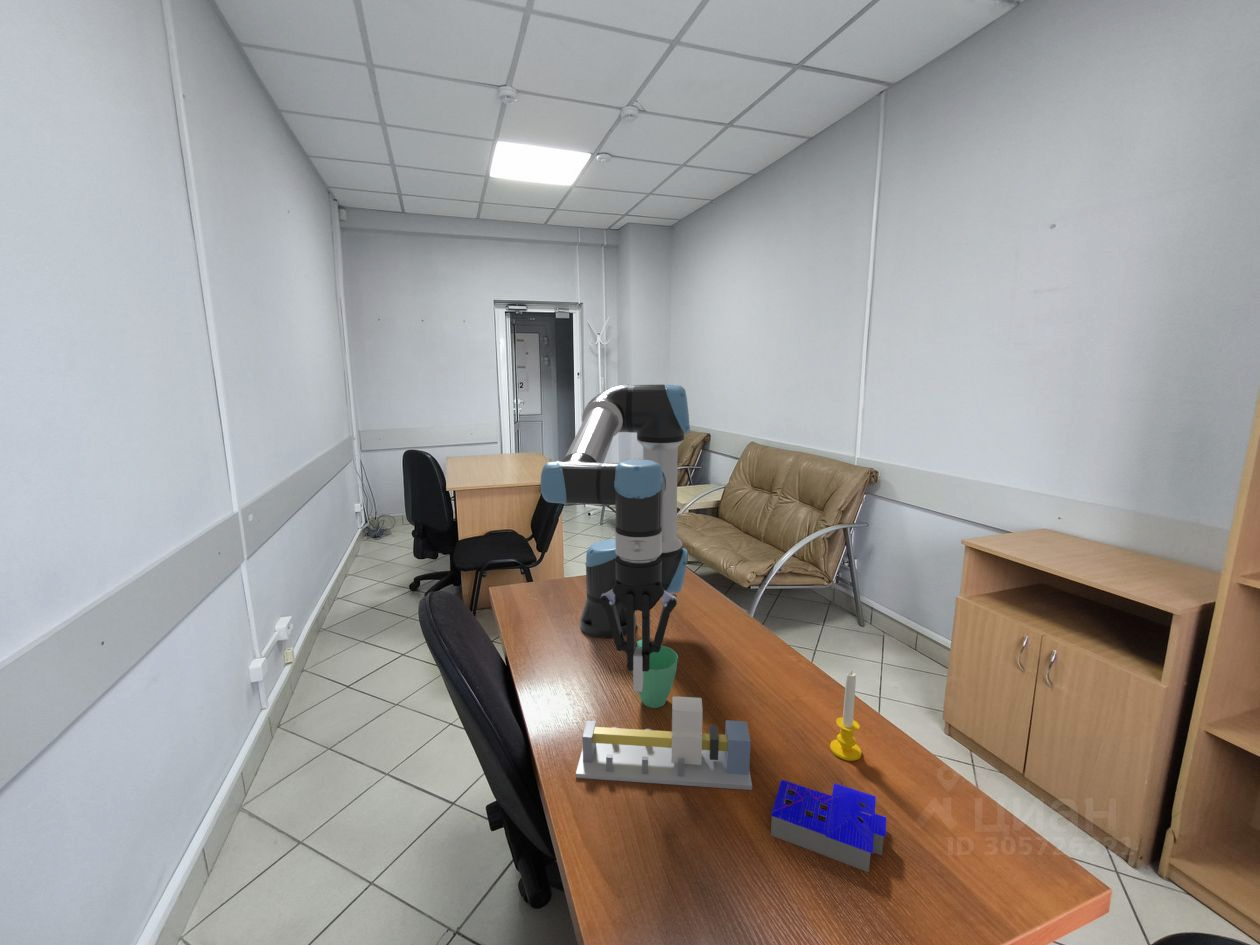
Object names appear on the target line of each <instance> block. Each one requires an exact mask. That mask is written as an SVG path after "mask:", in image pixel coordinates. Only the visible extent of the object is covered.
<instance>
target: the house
mask: <svg viewBox="0 0 1260 945" xmlns="http://www.w3.org/2000/svg"><path fill="white" fill-rule="evenodd" d="M831 792H832V793H831V795H830V794H827V793H825V792H822V791H818V790H815V789H811V788H809V787H806V786H802V785H799V784H797V783H793V782H790V781H787V780H785V779H782V778H781V780H780V782H779V786H778V790H777V794H776V797H775V800H774V804H773V807H772V809H771V810H772V811H771V814H770V817H771V821H770V822H771V823H770V836H771V837H774V838H777V839H780V840H783V841H786V842H787V843H791V844H794V845H796V846H798V847H800V848H804V849H805V850H806V849H807V850H809V851H812V852H815V853H817V854H820V855H822V856H825V857H826V858H829V859H832V860H835V861H836V862H837V861H838V862H840V863H842V864H845V865H848V866H850V867H853V868H856V869H858V870H861V871H864V872H865V873H866V872H867V873H869V872H870V865H871V864H870V863H871V856H872V855H874V854H877V855H880V856H883V849H884V848H883V847H884V839H885V838H887V817H886V816H883V815H881V814H877V813H876V803H877V802H876V800H877V796H876V795H873V794H869V793H866V792H863V791H861V790H858V789H854V788H852V787H848V786H844V785H841V784H839V783H835V782H834V783H833V786H832V791H831ZM871 854H872V855H871Z"/></svg>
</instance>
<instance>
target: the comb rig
mask: <svg viewBox="0 0 1260 945" xmlns="http://www.w3.org/2000/svg"><path fill="white" fill-rule="evenodd" d="M724 728H725V729H724V730H725V732H724V734H719V729H718V725H717V724H716V725H715V724H708V733H703V732H702V758H701V765H696V764H684V759H678V763H671V759H672V730H671V731H667V730H653V729H651V728H645V729H638V728H637V729H636V728H621V727H620V728H618V726H611V727H605V726H604V727H603V726H601V727H600V726H597V721H596V720H586V723H585V727H584V731H583V734H582V748H581V753H580V757H579V760H578V764H577V767H576V772H575V779H586V780H587V779H588V780H589V779H590V780H601V781H602V780H604V781H615V782H616V781H617V782H618V781H619V782H630V783H631V782H633V783H645V784H646V783H647V784H661V785H673V786H675V785H676V786H690V787H703V788H714V789H715V788H718V789H733V790H744V791H746V790H748V791H752V790H753V781H752V777H751V771H750V761H751V757H750V756H751V737H750V731H749V727H748V722H747V720H745V721H744V720H730V719H729V720H728V719H726V720H725V727H724Z"/></svg>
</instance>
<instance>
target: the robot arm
mask: <svg viewBox="0 0 1260 945" xmlns="http://www.w3.org/2000/svg"><path fill="white" fill-rule="evenodd" d="M581 421H582V423H581V424H580V427H579V428H578V431H577V433H576V435H575V437H574V439H573V441H572V443H571V444H570V447H569V449H568V450H567V452H566V454H565V456H564V458H563V460H561V461H560V460H556V461H549V462H546V463H545V464H544V465H543V467H542V470H541V474H540V491H541V496H542V498H543V499H544V500H545V502H547V503H553V504H563V505H571V504H572V505H574V504H575V505H602V506H603V505H604V506H608V505H609V506H614V507H615V538H610V539H605V540H603V539H602V540H601V541H600V540H599V541H597V542H595V543H593V544H590V546H589V547H588V548H587V550H586V556H585V558H586V559H585V562H584V563H585V564H584V566H585V572H586V573H585V574H586V575H585V579H586V580H585V581H586V582H585V584H586V600H585V602H584V606H583V609H582V613H581V615H580V619H579V620H580V622H579V623H580V629H581V631H582V632H584V633H585V634H586V635H589V636H591V637H595V638H599V639H600V638H601V639H613V642H614V646H615V649H616V651H619V652H621V651H623V652H624V653H625V654H626V668H627V671H629V672H632V671H633V672H632V676H633V678H632V679H633V681H632V683H633V684H632V685H633V686H632V687H633V692H638V691H639V692H642V689H643V671H647V672H648V671H649V668H650V654H651V653H652V652H659V651H660V648H661V646H663V645H662V644H663V641H664V638H665V633H666V630H667V626H668V622H669V618H670V615H671V613H672V612H673V610H674V609H675V608H676V606H677V604H678V603H677V602H678V601H677V600H678V598H677V596H678V595H677V594H678V593H680V592H681V591H682V589H683V587H684V586H683V585H684V581H685V576H686V569H687V561H688V548H687V549H686V548H685V547H683V542H682V540H681V539H680V538H679V536H677V535H678V534H677V530H678V528H677V522H678V521H677V520H678V517H677V516H678V458H679V457H678V454H679V452H678V449H679V446H680V445H681V444H682V443H683V442H684V441H685V435H687V434H689V433H690V432H691V426H690V424H691V423H690V414H689V406H688V397H687V393H686V389H685V388H684V387H683V386H682V385H679V384H678V385H677V384H667V383H666V384H664V383H663V384H661V383H660V384H659V383H658V384H657V383H656V384H620V385H614V386H612V387H610V388H607V389H605V390H603V391H602V392H599V394H596V395H595V396H594V397H593V398H592V399H591V400H590V401H589V402H588V403H587V404H586V406H585V407H584V409H583V412H582V416H581ZM618 433H636V440H637V442H638V443H639V444H640V445H641V446H642V452H643V453H642V459H628V460H624V461H620V462H605V460H606V457H607V455H608V452H609V450H610V447H611V444H612V442H613V439H614V437H615V436H616V435H618ZM661 599H662V600H661ZM660 600H661V605H662V610H661V612H660V616H659V617H660V618H659V620H658V624H657V628H656V631H655V635H654V639H653V640H652V641H651V610H652V609H653V608H654V607H655V606H656V604H657V603H658V602H659V601H660ZM636 611H639V612H641V640H642V648H635V645H636V628H637V617H636V616H637V615H636ZM624 636H626V639H625V637H624Z"/></svg>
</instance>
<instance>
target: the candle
mask: <svg viewBox="0 0 1260 945" xmlns="http://www.w3.org/2000/svg"><path fill="white" fill-rule="evenodd" d="M856 679H857V673H855V672H853V671H852V670H851V671H850V672H847V673H846V679H845V687H844V688H845V689H844V697H843V698H844V699H843V700H844V701H843V711H842V712H843V713H842V716H841V717H837V718H836V720H835V724H836V725H837V726H838V727H839V728H840V731H839V732H840V733H838V734H837V736H836V739H833V740H832V741H831V742H830V745H829V747H830V751H831V753H832V754H833V755H834V756H836V757H837V758H839V759H841V760H844V761H847V762H855V761H858V760H860V759H861V757H862V753H863V752H862V749H861V748H860V746H859V745H858V744H857V739H856V738H855V737H854V735H855V733H854V732H857V731H858V730H859V729H860V727H861V726H860V724H859V722H858V721H856V720H854V714H855V712H854V711H855V699H856V698H855V697H856V684H857V683H856V682H857V680H856Z"/></svg>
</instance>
